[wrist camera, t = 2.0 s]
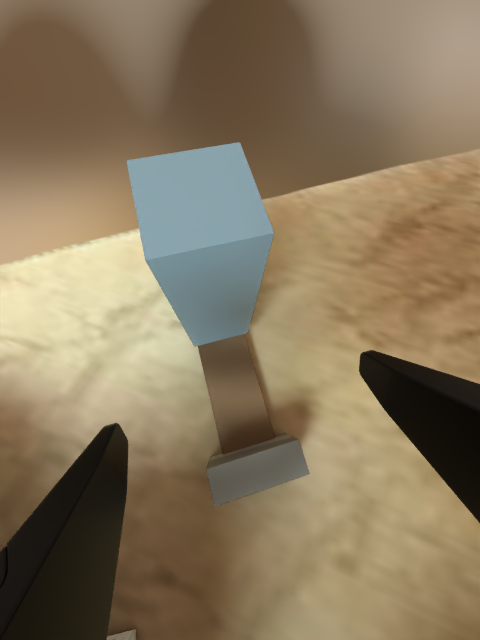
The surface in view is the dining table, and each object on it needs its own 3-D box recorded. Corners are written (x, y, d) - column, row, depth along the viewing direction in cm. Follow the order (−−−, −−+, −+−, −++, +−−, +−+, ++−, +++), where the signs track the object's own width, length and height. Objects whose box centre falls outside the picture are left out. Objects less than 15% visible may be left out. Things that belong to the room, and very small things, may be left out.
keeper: (247, 333, 21) (274, 232, 9) (194, 346, 21) (145, 260, 8) (233, 285, 23) (239, 142, 10) (183, 297, 22) (126, 160, 10)
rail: (293, 460, 19) (309, 474, 16) (216, 486, 19) (214, 506, 15) (233, 264, 25) (234, 238, 21) (171, 277, 24) (160, 253, 20)
